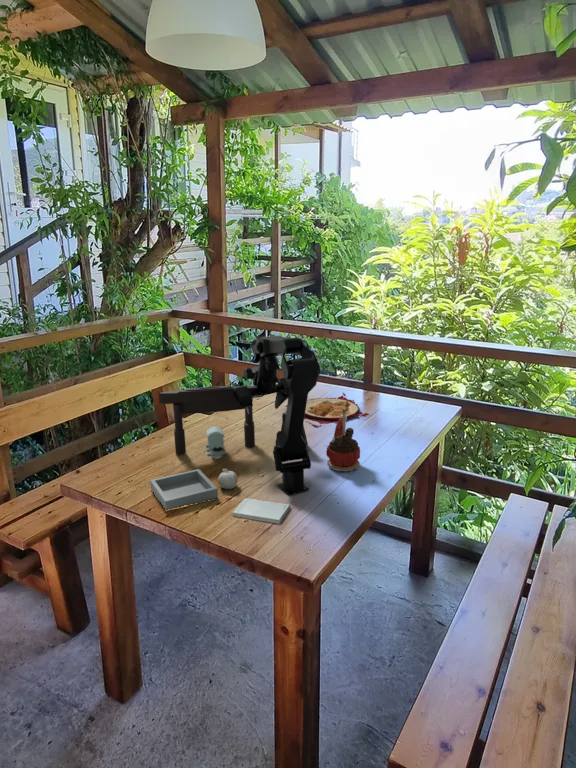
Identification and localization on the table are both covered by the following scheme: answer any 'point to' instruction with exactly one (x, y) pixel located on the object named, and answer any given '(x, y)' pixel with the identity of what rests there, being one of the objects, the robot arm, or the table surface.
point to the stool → (207, 402)
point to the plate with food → (330, 409)
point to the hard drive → (261, 510)
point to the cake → (343, 448)
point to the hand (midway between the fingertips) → (262, 411)
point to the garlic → (227, 479)
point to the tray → (183, 489)
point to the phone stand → (302, 429)
